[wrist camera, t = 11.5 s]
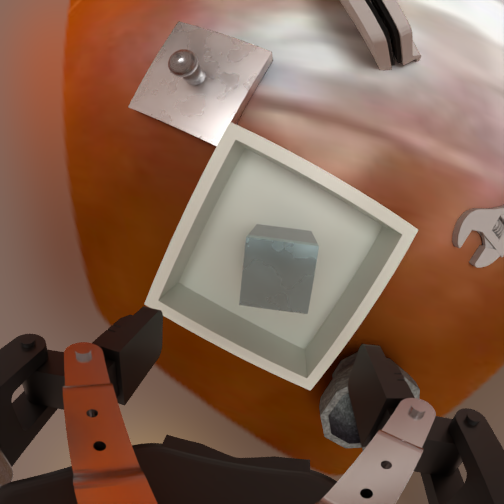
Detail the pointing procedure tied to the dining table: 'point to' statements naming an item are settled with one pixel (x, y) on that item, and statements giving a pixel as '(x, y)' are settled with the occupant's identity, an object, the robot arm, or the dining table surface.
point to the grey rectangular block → (278, 269)
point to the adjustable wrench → (482, 233)
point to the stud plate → (213, 93)
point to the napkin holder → (383, 30)
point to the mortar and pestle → (345, 406)
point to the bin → (288, 216)
